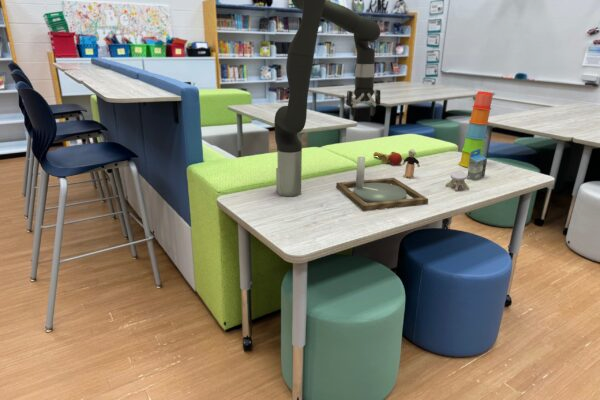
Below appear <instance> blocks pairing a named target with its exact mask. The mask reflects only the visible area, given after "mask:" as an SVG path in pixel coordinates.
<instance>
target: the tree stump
mask: <svg viewBox="0 0 600 400" xmlns="http://www.w3.org/2000/svg"><path fill="white" fill-rule="evenodd" d="M467 175H468V173H466V172H464V171H462V170H461V171H459V170H456V171H452V172H451V173H450V178H451V180H450V181H448V182H446V183H445V187H446V188H453V185H455V189H454V191H455V192H457V191H458V190H459V186H461V188H462V190H466V191H467V190H470V187H469V185H468V184H467V183H466V182H465V180H467Z"/></svg>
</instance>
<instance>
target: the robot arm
mask: <svg viewBox="0 0 600 400" xmlns="http://www.w3.org/2000/svg"><path fill="white" fill-rule="evenodd" d="M291 3H292V4H293V6H294V7H295V8H296V9H298V10H299V11H302V16H301V21H300V24H299V27H298V30H297V31H296V33H295V34H294V37H293V38H292V40H291V42H290V43H289V47H288V51H287V56H286V62H285V63H286V64H285V65H286V69H285V70H286V71H285V72H286V73H285V74H286V79H287V83H288V90H289V95H288V102H287V105H283V106H280V107H279V108H278V109H277V110H276V113H275V115H274V123H273V124H274V140H275V143H276V148H277V167H276V168H275V170H276V171H275V180H276V181H275V185H276V188H275V189H276V193H277V194H278V195H279V196H280V197H282V196H283V197H295V196H296V197H297V196H299V195H301V194H302V171H303V170H302V169H303V167H302V164H303V162H302V160H303V159H302V157H303V156H302V155H303V154H302V153H303V148H302V147H303V145H302V141H301V140H300V138H299V136H298V134H300V133H301V132H302V131H303V130H304V128H305V126H306V122H307V113H308V94H309V89H310V82H311V76H312V71H313V65H314V64H313V63H314V59H315V58H314V57H315V51H316V50H315V49H316V45H317V39H318V33H319V32H318V31H319V28H320V24H321V19H324V20H327V21H328V22H330V23H332V24H333V25H335V26H337V27H339V28H341V29H342V30H343V31H345V32H347V33H350V34H353V40H354V46H355V51H356V66H355V72H354V75H355V76H354V90H353V91H352V90H347V91H346V99H345V100H346V102H345V105H346V107H347V106H348V107H350V112H349V114H350V116H351V117H352V118H354V117H356V106H357V104H359V103H360V102H369V104H370V111H369V112H370V113H369V114H370V116H372V117H373V116H375V114H376V107H377V106H379V105H381V90H380V89H376V88H375V90H374V85H375V84H374V82H375V56H376V55H375V54H376V51H375V49H374V48H372V47H370V46H369V42H375V41H376V40H378V39H379V37H380V35H381V26H380V25H379V24H378V23H377V22H376V21H374V19H373V20H372V19H370V18H367V17H366V16H361V15H360V14H358V13H357V12H355V11H354V10H352V9H350V8H348V7H346V6H344V5H341V4H339V3H336V2H333V1H331V0H291ZM373 95H374V98H373ZM353 96H354V98H353ZM352 98H353V99H352Z"/></svg>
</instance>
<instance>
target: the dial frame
mask: <svg viewBox="0 0 600 400" xmlns="http://www.w3.org/2000/svg"><path fill="white" fill-rule="evenodd" d="M364 183H387V184H392V185H396V186H399V187H401V188H403V189H404V190H405V191H406V193H407V194H406V195H407V196H409V197H411V198H406V199H403V200H393V201H384V202H374V203H369V202H365V201H363V200H362V199H360V198H359V197H358V196H357V195H356V194H354V191H352V190H351V189H354V188H355V187H356V180H352V181H342V182H341V181H340V182H336V184H335V185H336V186H335V187H336V189H337V190H338V191H340V192H341V193H342V194H343V195H344V196H345V197H346V198H348V199H349V200H350V201H351V202H352V203H353V204H354V205H355V206H357V208H359V209H360V210H361V211H362V212H368V211H376V209H378V210H386V209H385V208H387V209H395V207H396V208H404V207H412V206H419V205H420V206H422V205H428V204H429V198H428V197H426V196H425V195H423V194H421V193H419V192H418V191H417V190H414V189H413V188H411V187H410V186H408V185H406V184H405V183H403V182H402V181H400V180H399V179H397V178H395V177H386V178H385V177H384V178H374V179H373V178H372V179H364Z"/></svg>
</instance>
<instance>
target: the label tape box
mask: <svg viewBox="0 0 600 400" xmlns="http://www.w3.org/2000/svg"><path fill="white" fill-rule="evenodd" d="M480 151H481V149H478V150H474V151H471V153H470V159H469V167H467V178H466V180H471V181H478V180H479V179H481V178H484V177H485V176H486V175H485V174H486V169H487V160H488V158H486V157H485V156H484V155H483V154H482V155H481V154H480ZM475 152H477V153H476V154H474V153H475Z"/></svg>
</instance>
